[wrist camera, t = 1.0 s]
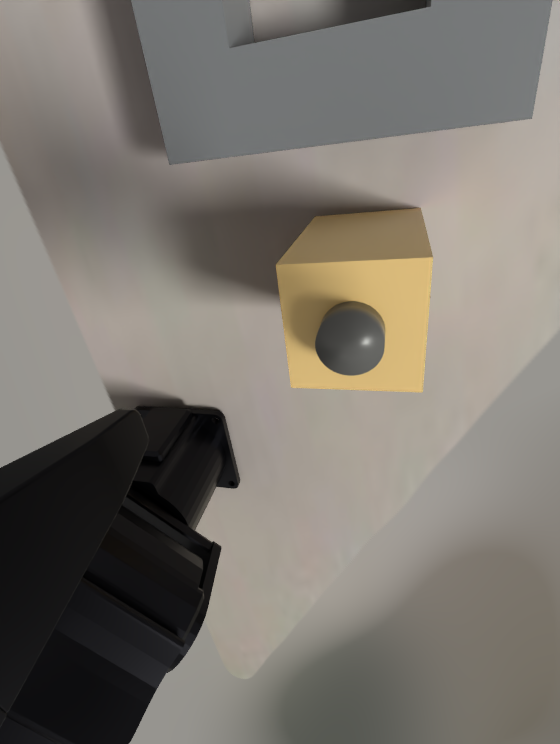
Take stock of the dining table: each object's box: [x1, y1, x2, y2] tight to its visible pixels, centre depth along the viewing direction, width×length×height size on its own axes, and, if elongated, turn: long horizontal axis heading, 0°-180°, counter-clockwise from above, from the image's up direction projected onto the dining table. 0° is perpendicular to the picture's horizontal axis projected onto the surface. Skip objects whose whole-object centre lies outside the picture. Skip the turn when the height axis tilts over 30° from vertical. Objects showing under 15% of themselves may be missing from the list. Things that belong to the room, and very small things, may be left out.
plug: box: [276, 208, 433, 392], centre depth 15 cm, size 4×4×8 cm
